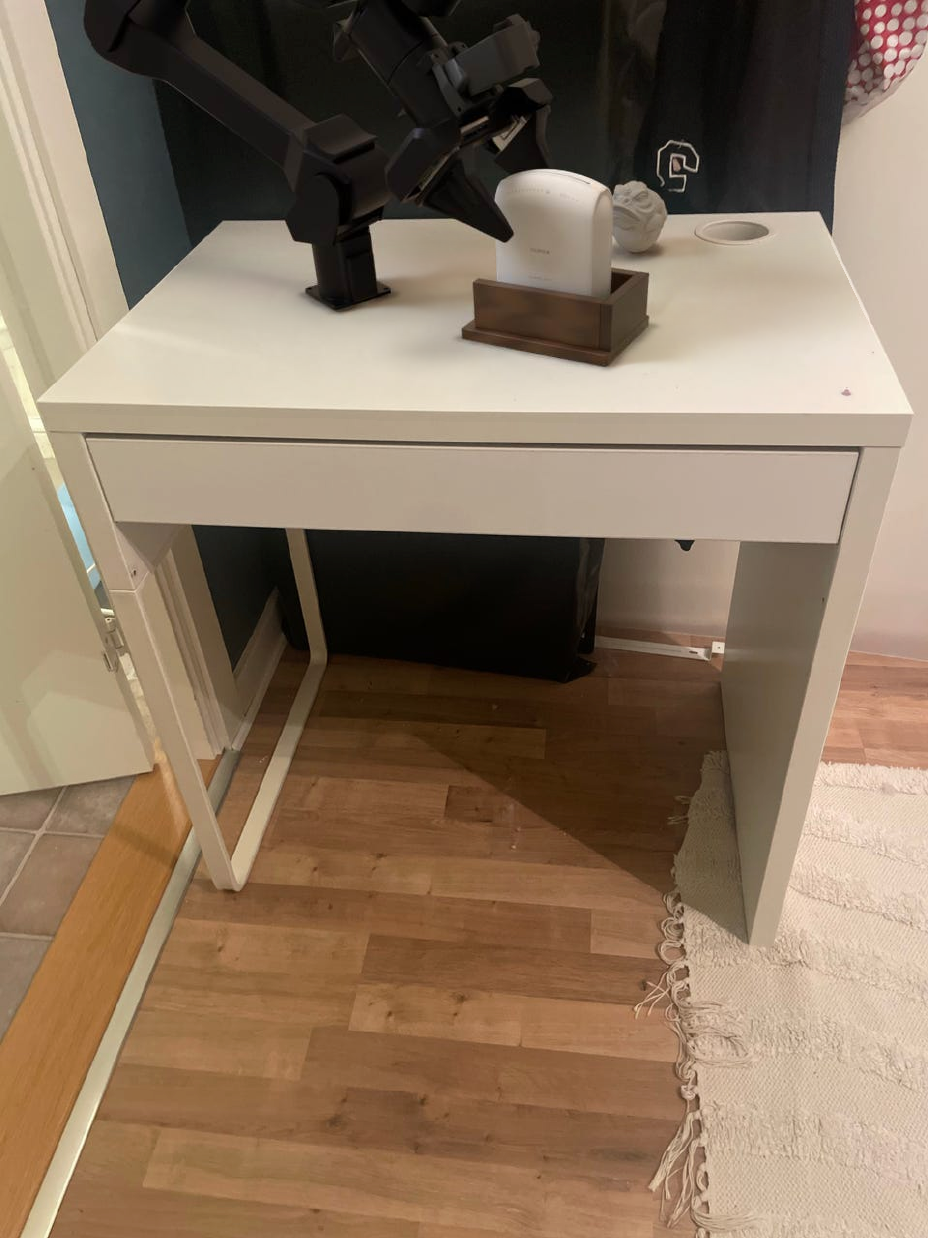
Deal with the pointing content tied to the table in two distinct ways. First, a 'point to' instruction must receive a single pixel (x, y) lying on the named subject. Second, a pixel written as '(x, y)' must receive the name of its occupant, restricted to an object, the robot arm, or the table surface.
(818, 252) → the table surface
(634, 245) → the frog figurine
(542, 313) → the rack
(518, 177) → the photo printer
